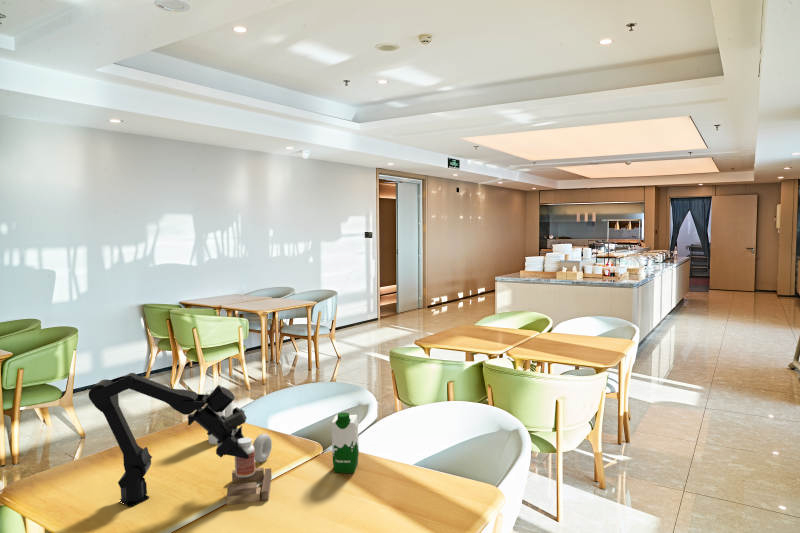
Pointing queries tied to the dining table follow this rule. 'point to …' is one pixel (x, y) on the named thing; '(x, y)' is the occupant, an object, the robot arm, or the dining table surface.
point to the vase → (226, 413)
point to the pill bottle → (245, 465)
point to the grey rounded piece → (262, 447)
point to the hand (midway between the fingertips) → (249, 453)
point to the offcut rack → (249, 487)
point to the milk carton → (345, 443)
